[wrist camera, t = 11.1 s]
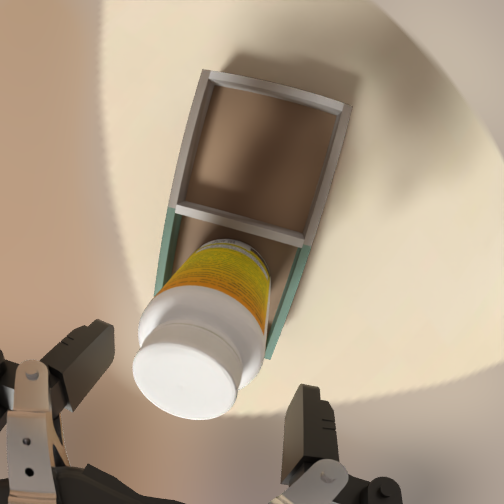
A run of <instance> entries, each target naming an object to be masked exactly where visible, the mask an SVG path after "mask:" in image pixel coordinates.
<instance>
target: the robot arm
mask: <svg viewBox="0 0 504 504" xmlns="http://www.w3.org/2000/svg"><path fill="white" fill-rule="evenodd" d="M114 348H115V347H114V327H113V325H111V324H108V323H106V322H104V321H101V320H99V319H96V320H95V321H94V322H92V324H90V325H89V326H88V327H87V326H85V325H84V326H81V327H79V328H76V329H74V330H73V331H72V332H71V333H69V334H68V335H67V337H65V338H64V339H63V340H62V341H61V343H60V342H59V343H58V344H57V345H56V346H55V347H54V348H53V349H52V350H51V351H49V352H48V353H47V354H46V355H45V356H44V357H43V358H42V359H41V360H40V361H37V360H26V361H24V362H22V363H21V364H17V363H14V362H11V361H8V360H5V359H4V356H3V353H2V351H1V350H0V431H1V430H2V428H3V427H4V426H5V425H6V423H7V463H8V475H9V478H6V479H0V504H185V503H181V502H178V501H175V500H168V499H160V498H153V497H147V496H142V495H139V494H138V493H136V492H135V491H133V490H132V489H131V488H129V487H127V486H126V485H125V484H123V483H122V482H121V481H119V480H118V479H117V478H115V477H114V476H112V475H109V474H107V473H105V472H103V471H101V470H99V469H97V468H96V467H94V466H92V465H90V464H87V466H86V467H85V469H83V468H78V467H71V466H70V463H69V460H68V457H67V453H66V448H65V442H64V435H63V427H62V418H61V413H60V412H61V411H62V410H63V408H66V409H68V410H69V411H71V412H74V410H75V409H76V408H77V406H78V405H79V404H80V403H81V401H82V400H83V399H84V397H85V396H86V395H87V393H88V392H89V391H90V390H91V389H92V387H93V386H94V385H95V384H96V382H97V381H98V380H99V379H100V377H101V376H102V375H103V374H104V372H105V371H106V370H107V369H108V367H109V366H110V365H111V363H112V361H113V359H114V353H115V349H114ZM334 422H335V417H334V410H333V409H332V407H331V405H330V404H329V402H328V401H324V400H320V389H319V387H315V386H310V385H305V384H300V385H299V387H298V389H297V391H296V393H295V395H294V397H293V399H292V401H291V403H290V405H289V407H288V409H287V412H286V416H285V426H284V442H283V458H282V471H281V484H284V485H289V488H288V489H287V490H286V491H284V492H283V493H282V494H281V495H280V496H278V497H276V498H275V499H274V500H272V501H271V502H269V503H268V504H403V503H402V496H401V490H400V487H399V485H398V484H397V483H396V482H395V481H394V480H393V479H391V478H388V477H378V478H375V479H374V480H372V481H371V482H369V481H365V480H362V479H359V478H356V477H353V476H351V475H349V474H348V472H347V470H346V468H345V467H344V466H343V465H342V464H341V463H340V462H339V455H338V445H337V435H336V431H335V430H336V426H335V423H334Z"/></svg>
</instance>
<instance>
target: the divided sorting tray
mask: <svg viewBox="0 0 504 504" xmlns="http://www.w3.org/2000/svg"><path fill="white" fill-rule="evenodd" d="M352 107H353V106H351V105H348V104H345V103H342V102H339V101H336V100H333V99H330V98H327V97H324V96H321V95H317V94H314V93H311V92H307V91H304V90H300V89H297V88H293V87H289V86H285V85H282V84H277V83H273V82H269V81H265V80H260V79H256V78H251V77H246V76H241V75H235V74H230V73H224V72H217V71H211V70H204V69H202V73H201V76H200V79H199V82H198V86H197V89H196V92H195V96H194V99H193V103H192V106H191V110H190V113H189V117H188V121H187V125H186V129H185V132H184V136H183V140H182V144H181V148H180V153H179V157H178V161H177V166H176V170H175V175H174V179H173V184H172V189H171V194H170V199H169V204H168V209H167V214H166V220H165V225H164V231H163V237H162V243H161V249H160V255H159V262H158V269H157V276H156V284H155V291H154V297H155V295H156V294H157V293H158V292H159V291H160V290H161V289H162V288H163V287H164V285H165V284H166V283H167V282H168V281H169V280H170V278H171V277H172V276H173V275H174V274H175V273H176V271H177V270H178V269H179V268H180V267H181V266H182V265H183V264H184V263H185V261H186V260H187V259H188V258H189V257H190V256H191V255H192V253H194V252H195V251H196V250H197V249H198V248H199V247H201V246H202V245H204V244H206V243H208V242H210V241H213V240H217V239H233V240H238V241H241V242H243V243H246V244H248V245H249V246H251V247H252V248H254V249H255V250H256V251H257V252H258V253H259V254H260V255H261V256H262V258H263V259H264V260H265V262H266V264H267V266H268V269H269V272H270V277H271V291H270V304H269V316H268V326H267V339H266V349H265V356H264V358H265V359H269V360H270V359H271V357H272V354H273V351H274V349H275V346H276V344H277V341H278V339H279V336H280V333H281V331H282V328H283V325H284V323H285V320H286V317H287V315H288V312H289V309H290V307H291V304H292V301H293V298H294V296H295V293H296V290H297V287H298V284H299V282H300V279H301V276H302V273H303V270H304V267H305V264H306V261H307V258H308V255H309V253H310V250H311V247H312V244H313V240H314V237H315V234H316V231H317V228H318V225H319V222H320V219H321V216H322V213H323V209H324V206H325V203H326V200H327V196H328V193H329V190H330V186H331V183H332V180H333V176H334V173H335V170H336V166H337V163H338V159H339V156H340V152H341V148H342V145H343V141H344V138H345V134H346V130H347V126H348V123H349V119H350V115H351V111H352Z"/></svg>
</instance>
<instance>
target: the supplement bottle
mask: <svg viewBox="0 0 504 504" xmlns="http://www.w3.org/2000/svg"><path fill="white" fill-rule="evenodd" d="M270 291H271V277H270V272H269V269H268V266H267V264H266V262H265V260H264V259H263V258H262V256H261V255H260V254H259V253H258V252H257V251H256V250H255V249H254V248H252V247H251V246H249V245H248V244H246V243H243V242H241V241H238V240H233V239H217V240H213V241H210V242H208V243H206V244H204V245H202V246H201V247H199V248H198V249H197V250H196V251H195V252H194V253H192V255H191V256H190V257H189V258H188V259H187V260H186V261H185V263H184V264H183V265H182V266H181V267H180V268H179V269H178V270H177V271H176V273H175V274H174V275H173V276H172V277H171V278H170V280H169V281H168V282H167V283H166V284H165V285H164V287H163V288H162V289H161V290H160V291H159V292H158V293H157V294H156V295H155V297H154V298H153V299H152V300H151V301H150V303H149V304H148V306H147V307H146V308H145V310H144V311H143V313H142V316H141V318H140V322H139V327H138V338H139V344H140V349H139V351H138V352H137V354H136V356H135V358H134V361H133V375H134V379H135V381H136V383H137V386H138V387H139V389H140V390H141V392H142V393H143V394H144V395H145V396H146V398H148V399H149V400H150V401H151V402H152V403H153V404H155V405H156V406H157V407H159V408H160V409H162V410H164V411H166V412H168V413H170V414H173V415H175V416H178V417H182V418H187V419H193V420H206V419H212V418H215V417H218V416H221V415H223V414H224V413H226V412H227V411H228V410H229V409H230V408H231V407H232V406H233V405H234V403H235V400H236V398H237V393H238V390H240V389H242V388H243V387H245V386H246V385H248V384H249V383H250V382H251V381H252V380H253V379H254V378H255V377H256V376H257V374H258V373H259V371H260V369H261V366H262V364H263V360H264V356H265V349H266V339H267V326H268V316H269V304H270Z"/></svg>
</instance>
